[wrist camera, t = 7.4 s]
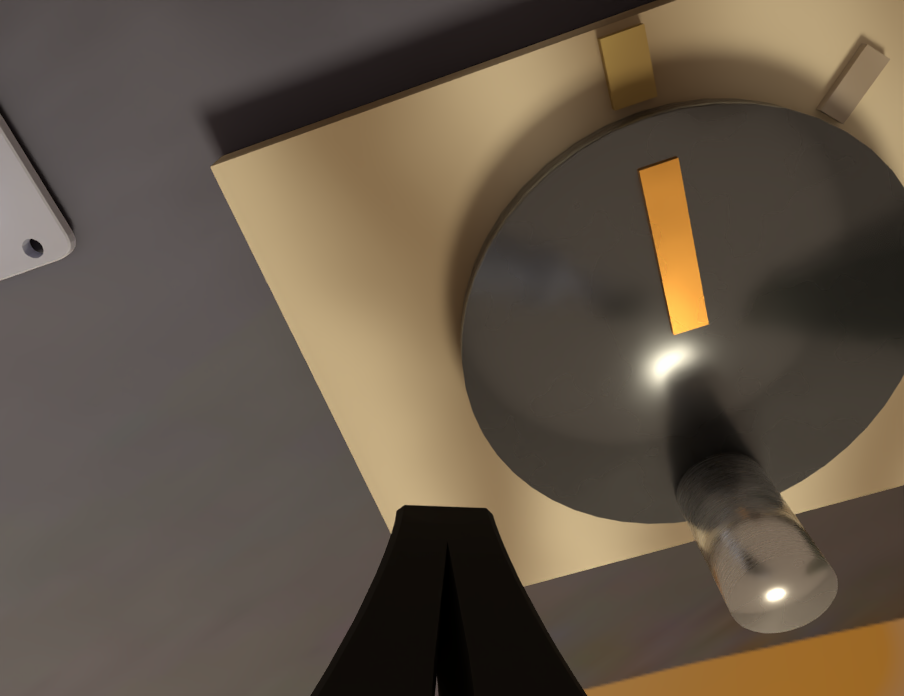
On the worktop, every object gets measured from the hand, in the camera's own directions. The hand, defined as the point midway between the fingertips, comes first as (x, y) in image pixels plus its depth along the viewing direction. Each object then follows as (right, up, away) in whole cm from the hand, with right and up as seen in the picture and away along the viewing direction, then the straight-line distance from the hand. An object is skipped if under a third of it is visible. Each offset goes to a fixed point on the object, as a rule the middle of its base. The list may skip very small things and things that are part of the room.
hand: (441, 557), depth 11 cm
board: (+6, +4, +10) cm, 12 cm away
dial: (+6, +4, +9) cm, 11 cm away
